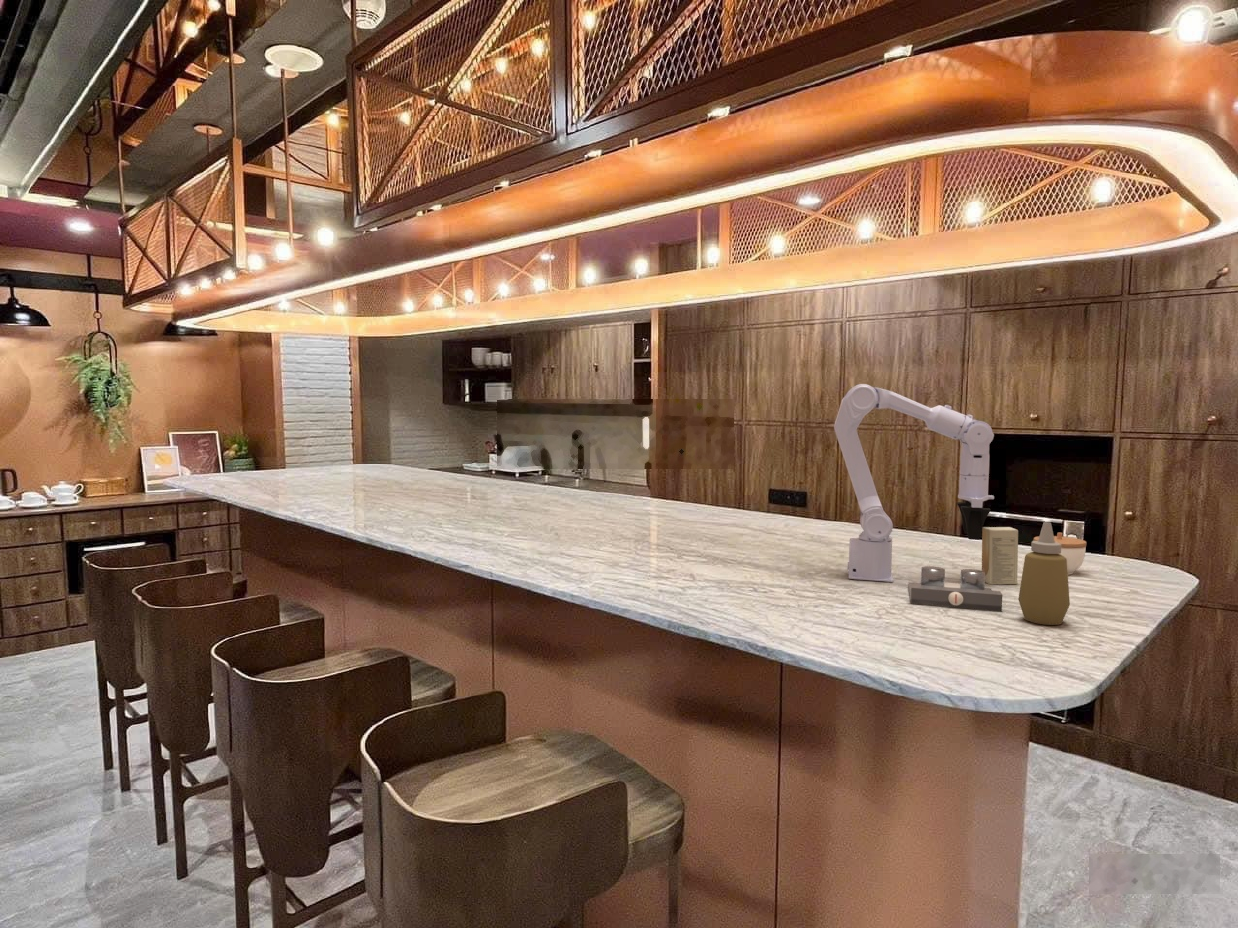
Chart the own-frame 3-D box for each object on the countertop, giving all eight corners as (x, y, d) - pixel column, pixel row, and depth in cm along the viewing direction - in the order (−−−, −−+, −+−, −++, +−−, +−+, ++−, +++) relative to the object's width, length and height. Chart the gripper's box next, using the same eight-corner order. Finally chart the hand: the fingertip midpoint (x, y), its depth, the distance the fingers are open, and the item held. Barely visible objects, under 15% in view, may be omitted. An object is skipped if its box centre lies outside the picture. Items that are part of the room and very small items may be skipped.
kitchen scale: (910, 604, 141) (911, 588, 141) (908, 586, 156) (908, 572, 156) (1002, 612, 136) (1002, 595, 136) (990, 593, 150) (991, 577, 150)
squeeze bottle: (1025, 612, 136) (1029, 518, 134) (1074, 621, 130) (1079, 522, 129) (1011, 621, 130) (1015, 522, 129) (1062, 630, 124) (1066, 527, 123)
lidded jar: (1022, 567, 176) (1023, 529, 175) (1062, 566, 177) (1064, 528, 176) (1053, 577, 165) (1055, 537, 164) (1096, 576, 166) (1098, 536, 165)
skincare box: (1009, 580, 162) (1011, 526, 161) (1017, 584, 158) (1020, 529, 157) (979, 579, 162) (981, 526, 162) (987, 584, 158) (989, 529, 157)
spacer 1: (921, 589, 147) (922, 569, 147) (920, 584, 151) (921, 565, 151) (945, 591, 145) (945, 571, 145) (943, 586, 150) (943, 567, 149)
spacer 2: (961, 592, 144) (962, 572, 144) (958, 587, 148) (959, 568, 148) (985, 594, 143) (986, 574, 143) (982, 589, 147) (983, 569, 147)
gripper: (999, 478, 149) (997, 543, 150) (989, 473, 163) (987, 532, 164) (962, 477, 152) (959, 540, 153) (955, 472, 165) (953, 530, 166)
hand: (971, 536), depth 159 cm, fingers open, 7 cm apart
